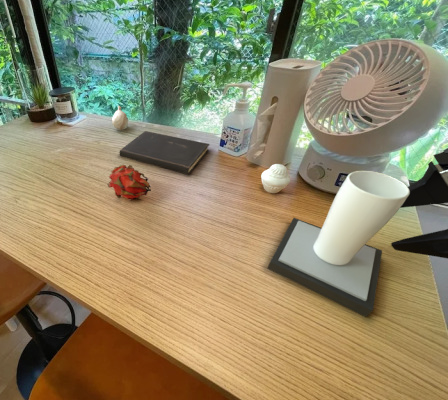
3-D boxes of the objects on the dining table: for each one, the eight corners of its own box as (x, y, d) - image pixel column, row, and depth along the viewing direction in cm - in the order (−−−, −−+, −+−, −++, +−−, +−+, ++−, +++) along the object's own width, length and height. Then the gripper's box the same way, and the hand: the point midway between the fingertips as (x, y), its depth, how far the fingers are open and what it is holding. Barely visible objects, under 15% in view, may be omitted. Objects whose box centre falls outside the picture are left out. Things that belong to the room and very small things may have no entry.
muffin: (258, 180, 66) (266, 156, 61) (285, 184, 63) (295, 160, 59) (256, 194, 61) (264, 169, 57) (285, 199, 59) (295, 174, 55)
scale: (376, 257, 45) (384, 248, 44) (365, 317, 38) (374, 308, 36) (290, 224, 53) (294, 215, 52) (267, 268, 45) (270, 259, 44)
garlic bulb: (132, 126, 98) (130, 105, 93) (123, 133, 94) (121, 111, 89) (117, 124, 101) (115, 104, 96) (108, 130, 97) (106, 109, 92)
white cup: (328, 274, 41) (380, 203, 31) (298, 243, 46) (334, 174, 37) (365, 265, 42) (426, 193, 32) (331, 236, 47) (375, 166, 37)
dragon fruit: (111, 189, 70) (148, 209, 65) (94, 189, 62) (134, 211, 57) (123, 160, 68) (162, 178, 63) (107, 156, 60) (150, 176, 56)
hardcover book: (145, 136, 90) (145, 130, 89) (208, 150, 79) (209, 143, 78) (119, 157, 80) (119, 150, 79) (187, 175, 70) (188, 168, 68)
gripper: (512, 86, 30) (351, 152, 41) (643, 161, 18) (363, 225, 29) (553, 157, 31) (387, 202, 43) (700, 272, 19) (412, 291, 31)
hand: (386, 224), depth 37 cm, fingers open, 9 cm apart
